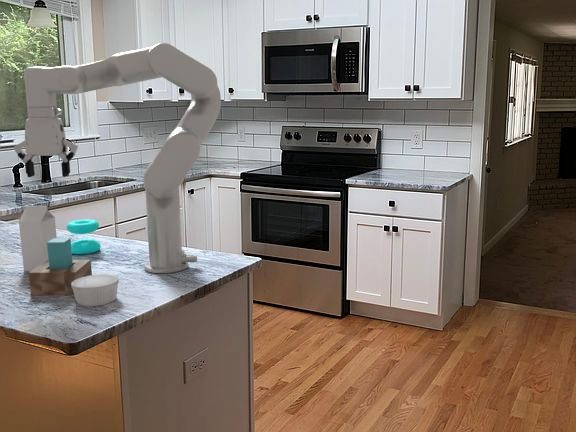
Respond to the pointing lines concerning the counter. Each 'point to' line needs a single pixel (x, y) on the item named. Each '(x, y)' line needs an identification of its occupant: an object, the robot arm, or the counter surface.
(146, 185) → the robot arm
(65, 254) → the peg
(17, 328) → the counter surface
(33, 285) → the socket block
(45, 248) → the milk carton
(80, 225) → the teal stacked rings
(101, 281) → the ramekin
